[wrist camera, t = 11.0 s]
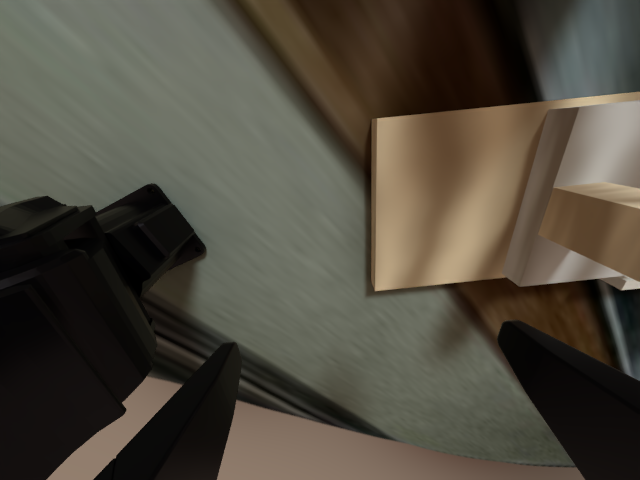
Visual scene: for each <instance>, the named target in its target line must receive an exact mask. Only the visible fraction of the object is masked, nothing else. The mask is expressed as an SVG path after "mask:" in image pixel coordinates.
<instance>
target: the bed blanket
mask: <svg viewBox="0 0 640 480" xmlns="http://www.w3.org/2000/svg"><path fill="white" fill-rule="evenodd" d="M502 274H503V275H504V276H506V277H507V278H508V279H510V280H511V281H512V282H514V283H515V284H516V285H518V286H519V287H523V286H533V285H542V284H551V283H561V282H570V281H580V280H589V279H599V278H608V277H618V276H627V277H630V278H632V279H634V280H636V281H638V282H640V100H635V101H626V102H616V103H606V104H596V105H587V106H577V107H567V108H557V109H549V110H548V113H547V117H546V120H545V124H544V127H543V131H542V134H541V138H540V141H539V145H538V148H537V152H536V155H535V159H534V162H533V166H532V169H531V173H530V176H529V180H528V183H527V186H526V190H525V193H524V197H523V200H522V204H521V207H520V211H519V214H518V218H517V221H516V225H515V228H514V232H513V235H512V239H511V242H510V246H509V249H508V253H507V256H506V260H505V263H504V267H503V270H502Z"/></svg>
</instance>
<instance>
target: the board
mask: <svg viewBox="0 0 640 480" xmlns="http://www.w3.org/2000/svg"><path fill="white" fill-rule="evenodd" d="M635 100H640V92H633V93H623V94H613V95H603V96H593V97H583V98H574V99H564V100H554V101H544V102H534V103H524V104H515V105H505V106H495V107H485V108H475V109H465V110H456V111H446V112H436V113H426V114H416V115H406V116H397V117H387V118H377V119H372V142H371V282H372V285H373V287H374V289H375V291H381V290H391V289H400V288H410V287H419V286H429V285H438V284H448V283H457V282H467V281H476V280H486V279H496V278H505V277H506V276H504V275H503V274H502V270H503V267H504V263H505V260H506V256H507V253H508V249H509V246H510V242H511V239H512V235H513V232H514V228H515V225H516V221H517V218H518V214H519V211H520V207H521V204H522V200H523V197H524V193H525V190H526V186H527V183H528V180H529V176H530V173H531V169H532V166H533V162H534V159H535V155H536V152H537V148H538V145H539V141H540V138H541V134H542V131H543V127H544V124H545V120H546V117H547V113H548V110H549V109H557V108H567V107H577V106H587V105H596V104H606V103H616V102H626V101H635Z"/></svg>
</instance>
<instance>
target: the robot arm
mask: <svg viewBox="0 0 640 480" xmlns="http://www.w3.org/2000/svg"><path fill="white" fill-rule="evenodd" d="M150 188H152V189H153V190H154V193H152V192H151V190H150ZM197 247H199V248H200V249H201V250H198V249H197ZM205 250H206V247H205V245H204V244H203V243H202V241H201V240H200V239H199V237H198V236H197V235H196V234H195V232H194V229H193V228H192V227H191V226H190V224H189V223H188V222H187V220H186V219H185V218H184V217H183V215H182V214H181V213H180V212H179V210H178V209H177V208H176V206H175V205H173V204H172V203H171V202H170V200H169V199H168V198H167V196H166V195H165V194H164V193H163V191H162V190H161V189H160V188H159V187H158V186H157V185H156V184H152V183H151V184H148V185H145V186H144V187H142V188H140V189H138V190H136V191H135V192H133V193H131V194H129V195H127V196H125V197H124V198H122V199H120V200H118V201H116V202H114V203H113V204H111V205H109V206H107V207H105V208H103V209H102V210H100V211H98V212H95V210H94V208H93V206H92V205H89V206H80V207H77V206H66V204H61V203H59V202H58V201H56V200H54V199H52V198H50V197H48V196H42V197H34V198H31V199H27V200H23V201H19V202H15V203H11V204H8V205H4V206H1V207H0V480H46V479H47V478H48V477H49V476H50V475H51V474H52V473H53V472H54V471H55V470H56V469H57V468H58V467H59V466H60V465H61V464H62V463H63V462H64V461H65V460H66V459H67V458H68V457H69V456H70V455H71V454H72V453H73V452H74V451H75V450H77V449H78V448H79V447H80V446H81V445H83V444H84V443H85V442H86V441H87V440H89V439H90V438H91V437H92V436H93V435H95V434H96V433H97V432H98V431H100V430H101V429H103V428H105V427H106V426H108V425H109V424H111V423H112V422H114V421H115V420H117V419H118V418H120V417H121V416H123V415H124V414H125V412H126V408H125V407H124V405H123V404H122V402H123V401H124V400H125V399H126V398H127V397H128V396H129V395H130V394H131V393H132V392H133V391H134V390H135V389H136V388H137V387H138V386H139V385H140V384H141V383H142V382H143V380H144V379H145V378H146V376H147V375H148V373H149V372H150V370H151V369H152V367H153V363H152V362H151V361H152V359H153V356H154V353H155V350H156V347H157V342H156V336H155V334H154V329H155V326H156V324H155V323H154V321H153V319H152V318H150V317H149V315H148V313H147V312H146V310H145V308H144V306H143V304H142V302H141V301H140V298H141V297H142V296H143V295H144V294H145V293H146V292H147V291H148V290H149V289H150V288H151V287H152V286H153V285H154V284H155V283H156V282H157V281H158V280H159V279H160V277H161V276H162V275H163V274H164V273H165V272H166V271H168V270H170V269H172V268H174V267H176V266H178V265H181V264H183V263H185V262H187V261H189V260H191V259H193V258H195V257H197V256H200V255H202V254H203V253H204V252H205ZM497 341H498V344H499V346H500V348H501V350H502V352H503V354H504V355H505V357H506V359H507V361H508V362H509V364H510V366H511V368H512V369H513V371H514V373H515V375H516V376H517V378H518V380H519V382H520V383H521V385H522V387H523V389H524V390H525V392H526V393H527V395H528V396H529V398H530V400H531V401H532V403H533V404H534V405H535V407H536V408H537V410H538V411H539V413H540V414H541V416H542V417H543V419H544V420H545V422H546V423H547V424H548V426H549V427H550V429H551V430H552V432H553V433H554V435H555V436H556V438H557V439H558V441H559V442H560V443H561V445H562V446H563V448H564V449H565V451H566V452H567V454H568V455H569V457H570V458H571V460H572V461H573V462H574V464H575V465H576V467H577V468H578V470H579V471H580V472H581V474H582V476H583V477H584V478H585V480H640V381H638V380H636V379H634V378H632V377H631V376H629V375H627V374H625V373H623V372H621V371H619V370H617V369H615V368H613V367H611V366H609V365H607V364H605V363H603V362H601V361H599V360H597V359H595V358H593V357H591V356H589V355H587V354H585V353H583V352H581V351H579V350H577V349H575V348H573V347H571V346H569V345H567V344H565V343H563V342H561V341H559V340H557V339H555V338H553V337H551V336H549V335H547V334H545V333H543V332H541V331H539V330H538V329H536V328H534V327H532V326H530V325H528V324H526V323H524V322H522V321H519V320H506V321H504V322H503V323H502V326H501V329H500V331H499V334H498V337H497ZM241 367H242V358H241V354H240V351H239V348H238V345H237V343H236V342H226V343H223V344H222V345H221V346H220V347H219V348H218V349H217V350H216V351H215V352H214V353H213V354H212V355H211V356H210V357H209V358H208V359H207V360H206V362H205V363H204V364H203V365H202V366H201V367H200V368H199V369H198V370H197V371H196V372H195V373H194V374H193V375H192V376H191V377H190V378H189V379H188V381H187V382H186V383H185V384H184V385H183V386H182V387H181V388H180V389H179V390H178V391H177V392H176V393H175V394H174V395H173V397H171V398H170V400H169V401H168V402H167V403H166V404H165V405H164V406H163V407H162V408H161V409H160V410H159V411H158V412H157V413H156V414H155V415H154V417H152V419H151V420H150V421H149V422H148V423H147V424H146V425H145V426H144V427H143V428H142V429H141V430H140V431H139V432H138V433H137V434H136V436H135V437H134V438H133V439H132V440H131V441H130V442H129V443H128V444H127V445H126V446H125V447H124V448H123V449H122V450H121V451H120V452H119V453H118V455H117V456H116V458H115V459H113V460H112V461H111V462H110V463H109V464H108V465H107V466H106V467H105V468H104V469H103V470H102V471H101V472H100V473H99V474H98V475H97V476H96V477H95V478H94V480H217V476H218V473H219V469H220V465H221V461H222V457H223V454H224V450H225V446H226V442H227V439H228V435H229V431H230V427H231V423H232V419H233V415H234V410H235V404H236V398H237V392H238V385H239V379H240V373H241Z"/></svg>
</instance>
